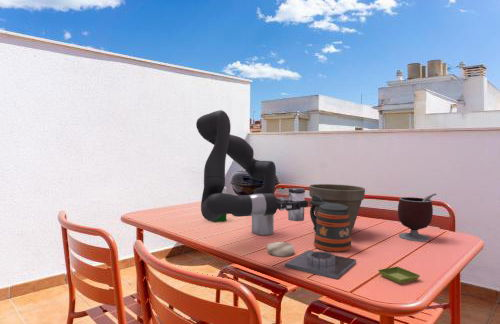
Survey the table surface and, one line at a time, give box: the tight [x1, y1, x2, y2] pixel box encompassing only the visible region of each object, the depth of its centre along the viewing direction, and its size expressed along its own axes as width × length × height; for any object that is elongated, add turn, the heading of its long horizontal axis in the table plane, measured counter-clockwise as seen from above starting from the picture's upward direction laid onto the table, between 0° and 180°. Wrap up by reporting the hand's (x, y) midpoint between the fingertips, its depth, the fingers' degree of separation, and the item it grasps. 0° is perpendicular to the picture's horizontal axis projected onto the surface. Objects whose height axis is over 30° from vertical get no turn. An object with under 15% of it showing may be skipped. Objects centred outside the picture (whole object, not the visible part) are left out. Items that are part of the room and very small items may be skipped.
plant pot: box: [308, 183, 366, 236], centre depth 160 cm, size 25×25×22 cm
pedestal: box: [266, 241, 295, 258], centre depth 130 cm, size 10×10×2 cm
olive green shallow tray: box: [377, 266, 421, 285], centre depth 106 cm, size 9×9×2 cm
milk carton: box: [212, 186, 228, 223], centre depth 185 cm, size 9×9×20 cm
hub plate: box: [284, 249, 357, 280], centre depth 117 cm, size 18×18×3 cm
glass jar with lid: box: [287, 187, 306, 222], centre depth 123 cm, size 6×6×11 cm
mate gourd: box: [397, 192, 437, 242], centre depth 153 cm, size 16×14×20 cm
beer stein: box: [308, 194, 352, 253], centre depth 139 cm, size 19×15×20 cm
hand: (302, 202), depth 124 cm, fingers closed on glass jar with lid, 5 cm apart
